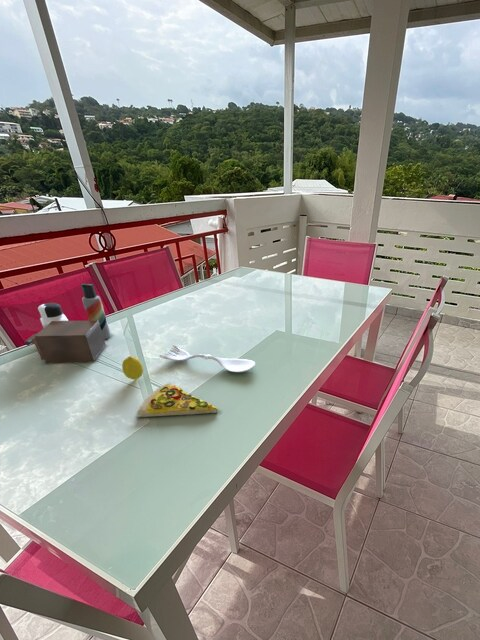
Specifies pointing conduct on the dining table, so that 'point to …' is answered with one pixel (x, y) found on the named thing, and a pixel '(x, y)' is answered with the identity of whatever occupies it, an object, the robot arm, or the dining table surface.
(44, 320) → the container
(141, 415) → the pizza slice
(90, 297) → the lotion bottle
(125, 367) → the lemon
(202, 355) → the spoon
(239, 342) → the dining table surface
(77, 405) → the dining table surface
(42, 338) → the cabinet
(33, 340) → the drawer
